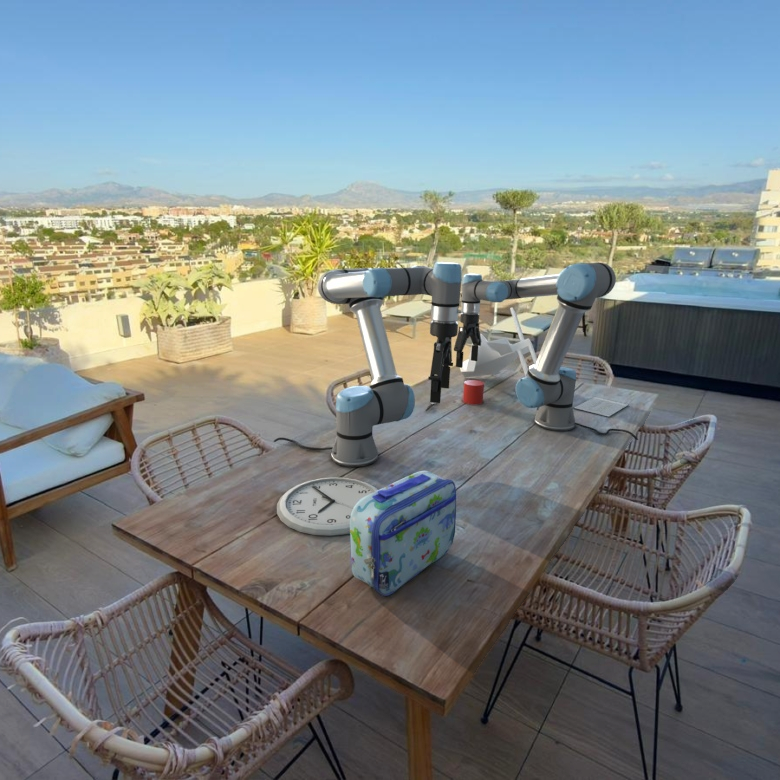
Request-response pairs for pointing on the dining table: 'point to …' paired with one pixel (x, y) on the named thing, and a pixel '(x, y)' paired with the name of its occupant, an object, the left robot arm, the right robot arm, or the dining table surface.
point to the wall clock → (322, 505)
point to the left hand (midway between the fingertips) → (439, 394)
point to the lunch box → (402, 530)
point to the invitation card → (601, 406)
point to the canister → (473, 392)
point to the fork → (430, 406)
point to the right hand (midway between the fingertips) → (466, 363)
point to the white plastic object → (498, 354)
